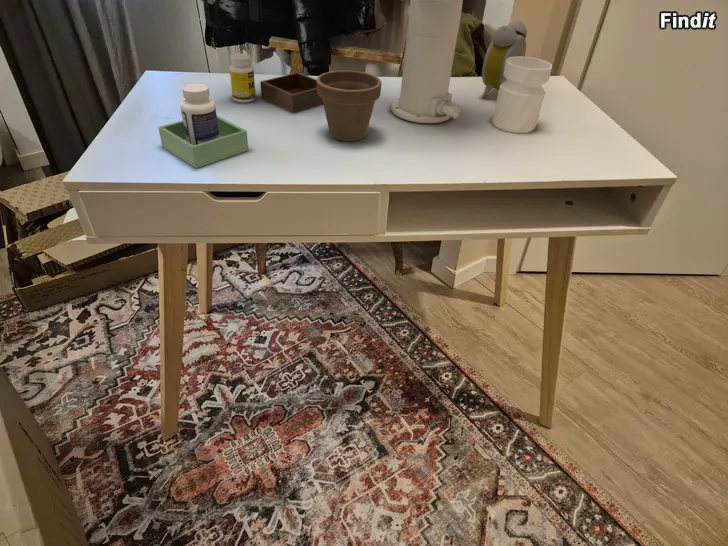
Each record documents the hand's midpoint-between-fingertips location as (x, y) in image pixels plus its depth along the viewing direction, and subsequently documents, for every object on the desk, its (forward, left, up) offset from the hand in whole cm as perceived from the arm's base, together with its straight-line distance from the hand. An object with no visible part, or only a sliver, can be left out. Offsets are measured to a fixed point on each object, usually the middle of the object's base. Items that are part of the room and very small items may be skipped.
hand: (235, 23), depth 94 cm
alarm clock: (-33, -47, -15) cm, 60 cm away
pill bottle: (-15, +19, -14) cm, 28 cm away
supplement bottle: (0, 0, -15) cm, 15 cm away
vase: (-44, -34, -15) cm, 58 cm away
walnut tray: (-7, -8, -14) cm, 18 cm away
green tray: (-15, +19, -14) cm, 28 cm away
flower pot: (-26, -4, -15) cm, 30 cm away
